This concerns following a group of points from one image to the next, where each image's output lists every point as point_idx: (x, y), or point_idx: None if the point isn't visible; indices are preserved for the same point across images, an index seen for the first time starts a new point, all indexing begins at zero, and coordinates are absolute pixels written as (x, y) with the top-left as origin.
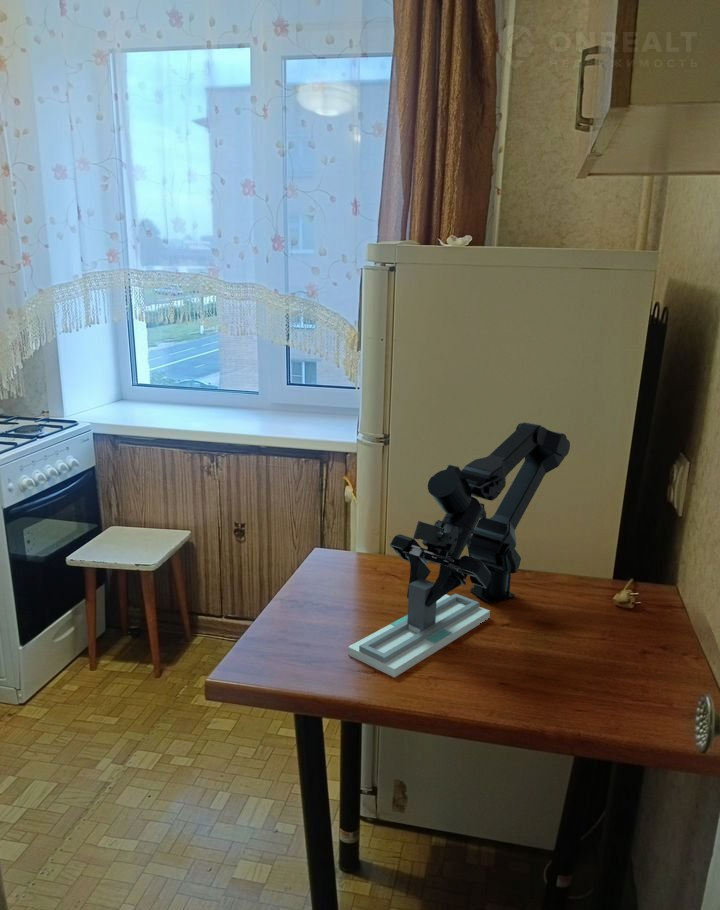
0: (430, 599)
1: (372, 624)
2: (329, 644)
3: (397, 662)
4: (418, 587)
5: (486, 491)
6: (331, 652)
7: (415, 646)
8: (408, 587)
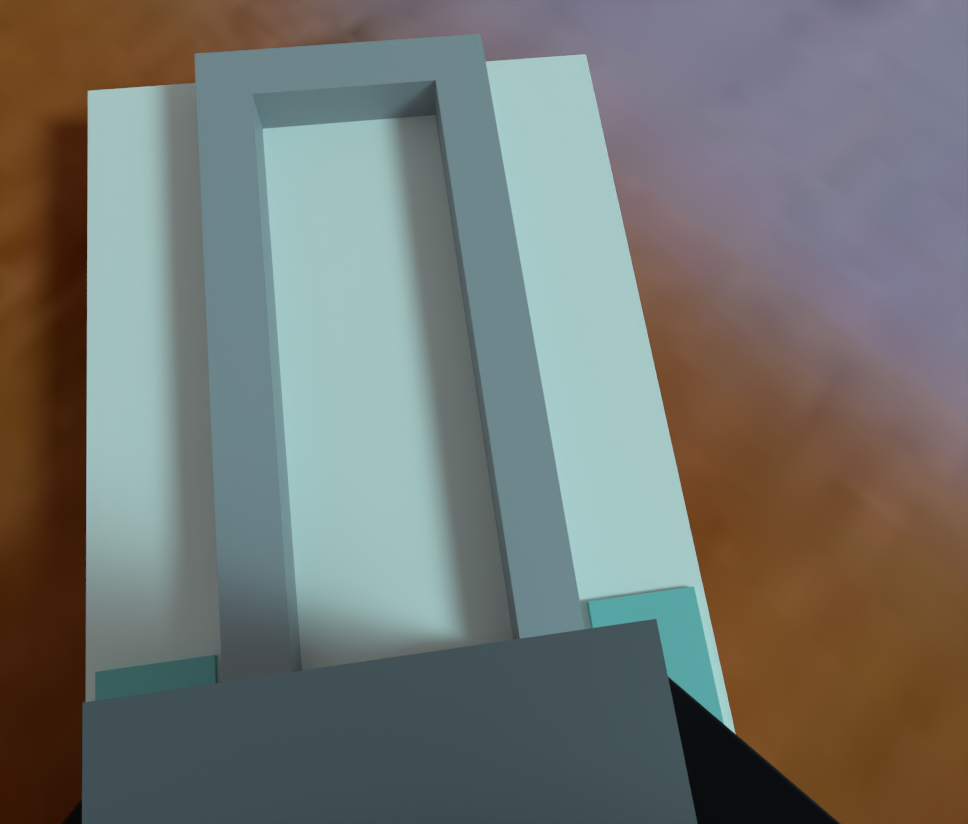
0: (77, 805)
1: (881, 563)
2: (774, 101)
3: (139, 170)
4: (334, 672)
5: None
6: (670, 48)
7: (206, 467)
8: (735, 737)
